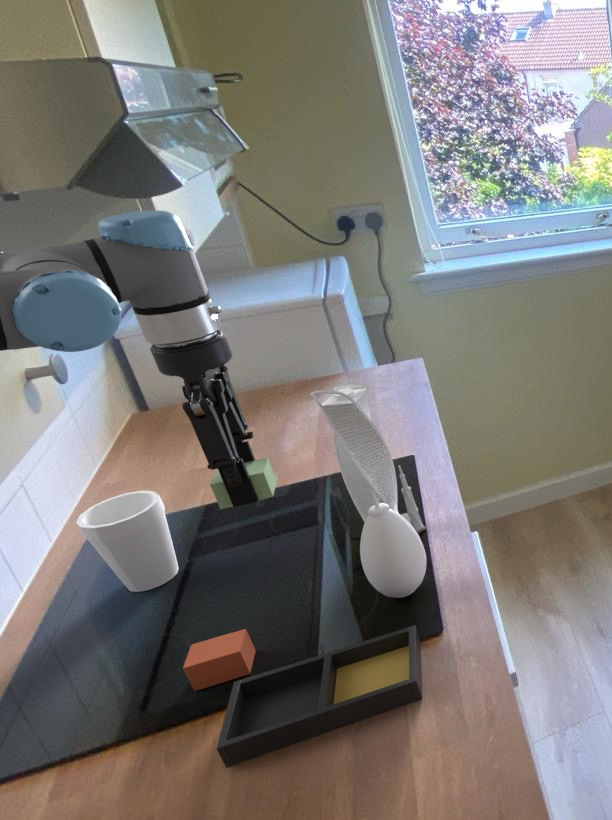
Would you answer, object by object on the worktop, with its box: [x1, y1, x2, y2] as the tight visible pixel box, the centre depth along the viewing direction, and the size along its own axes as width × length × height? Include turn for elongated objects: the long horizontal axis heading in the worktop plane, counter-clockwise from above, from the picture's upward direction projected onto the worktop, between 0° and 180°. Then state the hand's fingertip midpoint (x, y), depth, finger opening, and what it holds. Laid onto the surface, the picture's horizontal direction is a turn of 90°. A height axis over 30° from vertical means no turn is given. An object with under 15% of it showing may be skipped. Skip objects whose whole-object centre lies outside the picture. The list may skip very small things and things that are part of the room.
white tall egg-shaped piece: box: [359, 492, 427, 599], centre depth 105 cm, size 8×8×18 cm
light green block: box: [209, 457, 278, 510], centre depth 101 cm, size 6×4×4 cm
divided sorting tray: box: [215, 625, 423, 768], centre depth 91 cm, size 20×11×3 cm, turn 116°
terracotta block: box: [182, 628, 256, 692], centre depth 96 cm, size 6×4×4 cm
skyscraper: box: [310, 384, 427, 535], centre depth 117 cm, size 8×8×28 cm
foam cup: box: [75, 490, 180, 593], centre depth 111 cm, size 10×9×13 cm
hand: (248, 493), depth 101 cm, fingers closed on light green block, 4 cm apart
